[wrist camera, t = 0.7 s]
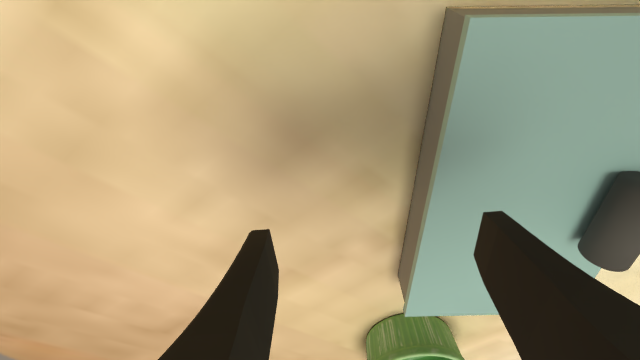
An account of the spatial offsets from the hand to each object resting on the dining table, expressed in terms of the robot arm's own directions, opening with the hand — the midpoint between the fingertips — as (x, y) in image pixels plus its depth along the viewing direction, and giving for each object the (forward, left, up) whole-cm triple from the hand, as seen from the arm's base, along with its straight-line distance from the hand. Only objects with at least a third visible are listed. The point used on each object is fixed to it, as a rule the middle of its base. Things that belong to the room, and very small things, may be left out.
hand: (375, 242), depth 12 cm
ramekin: (-7, +23, -11) cm, 27 cm away
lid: (-11, +4, -7) cm, 14 cm away
